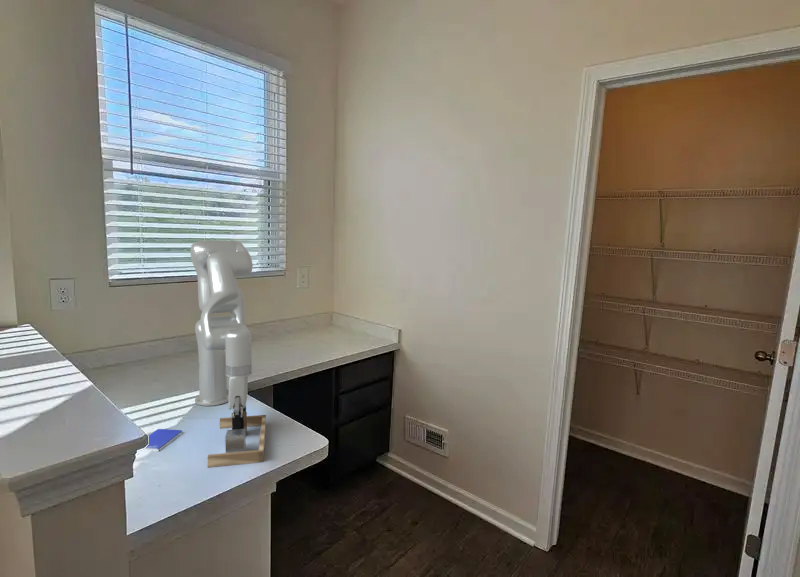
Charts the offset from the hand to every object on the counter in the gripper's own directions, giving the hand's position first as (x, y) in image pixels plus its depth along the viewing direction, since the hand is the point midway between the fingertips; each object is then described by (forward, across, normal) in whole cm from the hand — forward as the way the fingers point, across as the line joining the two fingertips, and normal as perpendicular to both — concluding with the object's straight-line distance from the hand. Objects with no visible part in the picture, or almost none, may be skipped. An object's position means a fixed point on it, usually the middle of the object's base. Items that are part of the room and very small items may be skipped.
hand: (239, 423), depth 139 cm
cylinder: (+4, 0, 0) cm, 4 cm away
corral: (+4, +6, 0) cm, 7 cm away
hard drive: (+5, 0, -23) cm, 24 cm away
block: (+4, +12, 0) cm, 12 cm away
